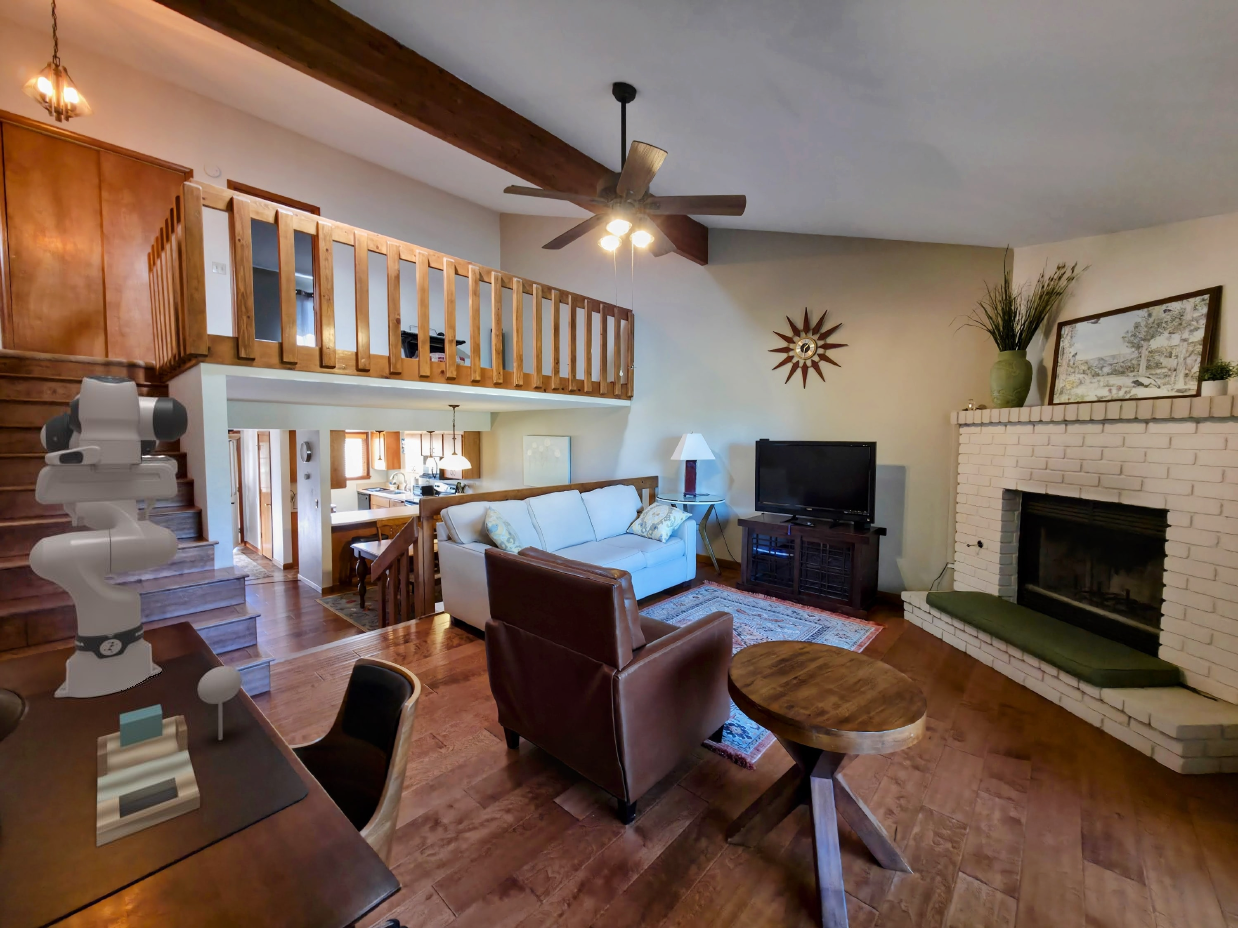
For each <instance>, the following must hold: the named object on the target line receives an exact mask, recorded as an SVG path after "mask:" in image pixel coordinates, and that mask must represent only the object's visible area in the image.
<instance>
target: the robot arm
mask: <svg viewBox="0 0 1238 928" xmlns="http://www.w3.org/2000/svg"><path fill="white" fill-rule="evenodd" d="M68 404H69V407H70V413H68V411H67V410H65V411H63V412H62V414H60V415H56V416H53V417H51V418H50V419H48V420H46V422H45V424H44V425H43V426H42V429H41V431H40V442H41V444H42V446H43V447H44V449H45V450H46V452H47V454H46V455H45V456H44V462H45V464H47V466H45V467H43V468H41V469H40V471H39V474H38V476H37V480H36V486H35V493H34V494H35V495H34V496H35V500H36V502H38V503H40V504H42V505H59V504H62V505H63V510H64V512H66V513H67V514H68V515H69V516H70V517H71V527H81V526H86V527H88V528H90V529H93V530H86V531H74V532H73V531H72V532H66V533H61V534H57V535H51V536H49V537H43V538H42V539H40V540H39V541H38V542H37V543H36V544H35V545H34V546H33V547H32V549H31V551H30V554H29V558H28V562H29V566H30V568H31V569H32V571H33V572H34V573H35V574H36V575H38V576H39V577H40V578H42V579H45V580H49V581H50V582H53V583H55V584H56V585H58V586H59V587H62V588H63V589H64V590H65V591H66V592H67V593H68V594H69V595H70V597H71V599H72V600H73V603H74V605H75V611H76V619H77V633H76V634H75V639H74V645H75V650H76V651H75V652H74V654H72V655H71V656H70V657H69V658H68V659H67V661H66V662H65V668H66V672H65V673H66V674H65V681H64V682H63V683H62V684H61V685H60V687H58V688H57V690H56V691H55V692H54V698H68V697H69V698H93V697H99V696H100V697H101V696H105V695H110V694H113V693H117V692H122V691H124V690H128V689H131V688H133V687H135V685H136V684H138V683H140V682H142V681H143V680H145V679H146V678H148V677H149V676H153V675H155V674H158V673H160V672H161V671H162V672H163V670H162V667H160V666H159V665H157V664H156V663H154V662H153V655H152V652H153V651H152V643H149V642H148V641H146V640H145V639H144V631H145V628H144V623H143V622H142V619H141V617H142V615H141V614H142V612H141V610H142V608H141V606H142V605H141V603H142V602H141V596H140V593H139V592H138V591H137V590H135V589H133V588H132V587H131V588H130V587H127V586H123V585H119V584H118V585H117V584H114V583H110V582H108V581H107V579H105V578H106V576H107V575H111V574H117V573H119V574H121V573H126V572H127V573H128V572H135V571H136V572H137V571H141V570H142V571H144V570H147V569H152V568H157V567H160V566H164V565H166V564H169V563H170V562H171V561H173V559H174V558H175V557H176V556H177V553H178V550H179V540H178V538H177V536H176V535H175V533H174V532H173V531H171V529H169V528H168V527H165V526H161V525H158V524H156V523H153V522H152V521H150V520H149V519H150V512H151V511H152V509H154V507H155V506H156V503H157V499H170V498H175V496H176V495H178V484H177V478H176V474H177V473H178V461H177V460H176V459H175V458H173V457H169V456H168V455H166V454H165V455H161V454H160V455H153V454H154V453H155V452H156V451H157V450H156V449H157V447H158V445H159V443H160V442H170V443H171V442H175V441H177V440H178V439H180V438H181V437H183V436H184V435H185V434H186V432H187V430H188V426H189V413H188V411H187V409H186V406H185V405H184V404H182V402H180V401H179V400H177V399H176V398H175V397H163V396H162V397H153V396H152V397H150V396H139V394H138V387H137V384H136V382H135V381H134V380H132V379H131V378H127V377H124V376H123V377H121V376H115V375H114V376H113V375H97V374H94V375H88V376H85V377H83V379H82V382H81V386H80V392H79V393H78V395H76V396H75V398H73V400H71V401H70V402H69V403H68ZM137 500H143V501H144V504H146V506H145V507H144V509H143V510H142V511H140V510H139V509H138V508H139V507H138V505H137ZM73 509H75V512H74V510H73ZM142 683H143V682H142ZM140 684H141V683H140ZM138 685H139V684H138ZM132 686H133V687H132ZM136 686H137V685H136ZM130 687H131V688H130ZM127 688H128V689H127ZM121 690H122V691H121Z"/></svg>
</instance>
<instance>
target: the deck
mask: <svg viewBox="0 0 1238 928" xmlns="http://www.w3.org/2000/svg"><path fill="white" fill-rule="evenodd" d="M96 758H97V762H96V763H97V787H96V789H97V794H96V795H97V796H96V798H97V799H96V848H98V847H100V846H103V845H106V844H108V843H111V842H113V841H116V840H119V839H122V838H124V837H126V836H129V835H132V834H135V833H137V832H140V831H142V830H145V829H147V828H150V827H152V826H155V825H157V824H158V825H159V824H160V823H163V822H165V821H168V820H171V819H173V818H176V817H178V816H181V815H184V814H187V813H189V812H191V811H193V810H197V809H200V808H201V794H200V791H199V790H200V789H199V786H198V783H197V780H196V776H195V772H194V768H193V765H192V761H191V757H190V754H189V750H188V726H187V723H186V719H185V716H184V715H183V714H182V715H175V716H172V717H168V718H164V719H162V736H158V737H155V738H151V739H148V740H145V741H141V742H138V743H134V744H131V745H128V746H124V747H120V731H117V732H113V733H111V734H107V735H103V736H99V737H98V738H97V755H96Z"/></svg>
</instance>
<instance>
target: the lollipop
mask: <svg viewBox="0 0 1238 928" xmlns="http://www.w3.org/2000/svg"><path fill="white" fill-rule="evenodd" d="M242 681H243V678H242V675H241V673H240V671H238V669H237V668H235V667H233V666H227V665H222V666H218V667H214V668H212V669H211V670H209V671H207V672H206V673H205V674H204V675H203V676H202V677H201V678H200V680H199V682H198V685H197V694H198V697H199V698H200V700H201V701H203V702H204V703H207V704H210V705H216V704H217V718H218V719H217V722H218V723H217V727H218V730H217V731H218V733H217V734H218V735H217V739H218V741H221V740H223V738H224V737H223V735H224V734H223V703H225V702H228V700H230V699H232V698H233V697H234V696H236V694H238V692H239V690H240V688H241V686H242Z"/></svg>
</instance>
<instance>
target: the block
mask: <svg viewBox="0 0 1238 928" xmlns="http://www.w3.org/2000/svg"><path fill="white" fill-rule="evenodd" d="M162 720H163V710H162V705H161V704H160V703H158V704H155V705H152V706H148V707H144V708H140V709H136V710H133V711H129V712H124V713H121V714H119V732H120V747H124V746H128V745H131V744H134V743H138V742H141V741H145V740H148V739H151V738H155V737H158V736H162Z"/></svg>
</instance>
